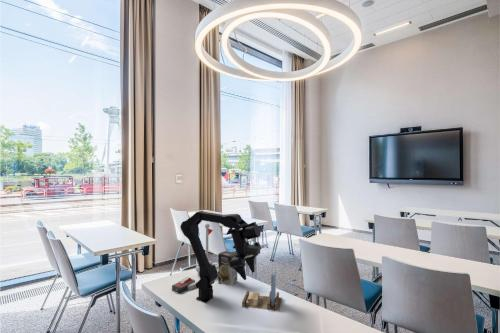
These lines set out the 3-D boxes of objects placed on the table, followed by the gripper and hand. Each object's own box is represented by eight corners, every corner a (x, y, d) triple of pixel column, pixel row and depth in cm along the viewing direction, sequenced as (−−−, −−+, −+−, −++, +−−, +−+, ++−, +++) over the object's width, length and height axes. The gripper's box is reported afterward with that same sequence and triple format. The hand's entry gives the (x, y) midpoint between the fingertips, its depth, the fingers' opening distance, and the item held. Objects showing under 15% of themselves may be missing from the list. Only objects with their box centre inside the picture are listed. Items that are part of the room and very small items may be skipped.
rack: (241, 308, 122) (242, 301, 122) (247, 296, 134) (247, 289, 134) (280, 312, 119) (280, 304, 119) (281, 299, 131) (281, 292, 131)
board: (271, 306, 123) (271, 275, 123) (272, 299, 129) (272, 270, 129) (274, 306, 123) (274, 275, 123) (275, 300, 129) (275, 270, 129)
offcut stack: (245, 304, 124) (245, 299, 124) (249, 296, 132) (249, 291, 132) (256, 305, 123) (256, 300, 123) (259, 297, 131) (259, 292, 131)
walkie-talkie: (181, 295, 135) (208, 281, 152) (181, 287, 135) (208, 273, 152) (169, 291, 140) (196, 278, 157) (169, 282, 140) (196, 270, 157)
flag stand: (207, 280, 153) (208, 226, 153) (191, 275, 160) (191, 224, 160) (222, 272, 164) (222, 222, 164) (206, 268, 171) (206, 220, 171)
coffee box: (217, 283, 149) (217, 253, 149) (224, 279, 154) (224, 250, 155) (231, 287, 144) (231, 256, 144) (238, 282, 150) (238, 253, 150)
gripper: (246, 243, 113) (257, 281, 111) (262, 233, 130) (272, 265, 128) (224, 248, 117) (234, 285, 115) (242, 238, 134) (251, 269, 132)
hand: (249, 275), depth 122 cm, fingers open, 9 cm apart
